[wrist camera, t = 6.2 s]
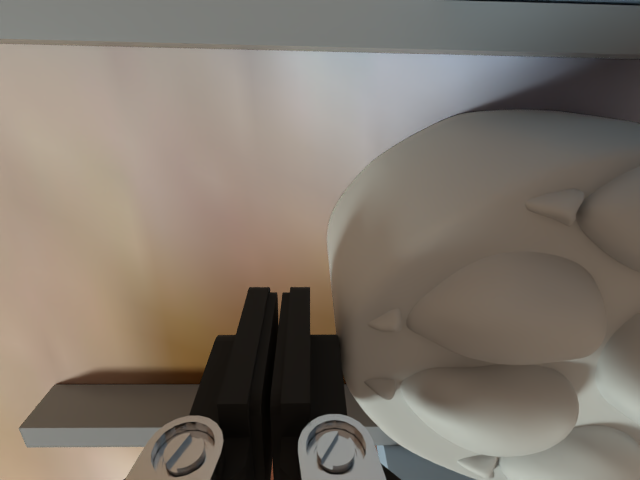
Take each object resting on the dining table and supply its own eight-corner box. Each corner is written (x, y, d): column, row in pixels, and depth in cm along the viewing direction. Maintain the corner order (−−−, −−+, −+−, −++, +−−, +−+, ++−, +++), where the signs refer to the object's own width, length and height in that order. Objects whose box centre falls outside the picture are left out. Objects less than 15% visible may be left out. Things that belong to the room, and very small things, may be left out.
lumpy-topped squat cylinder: (592, 339, 18) (808, 545, 10) (323, 337, 18) (333, 550, 10) (681, 113, 14) (1162, 167, 6) (331, 104, 14) (361, 148, 6)
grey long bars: (767, 22, 13) (865, 12, 11) (601, 401, 20) (639, 444, 18) (-79, -1, 12) (-171, -18, 10) (60, 402, 19) (26, 447, 17)
